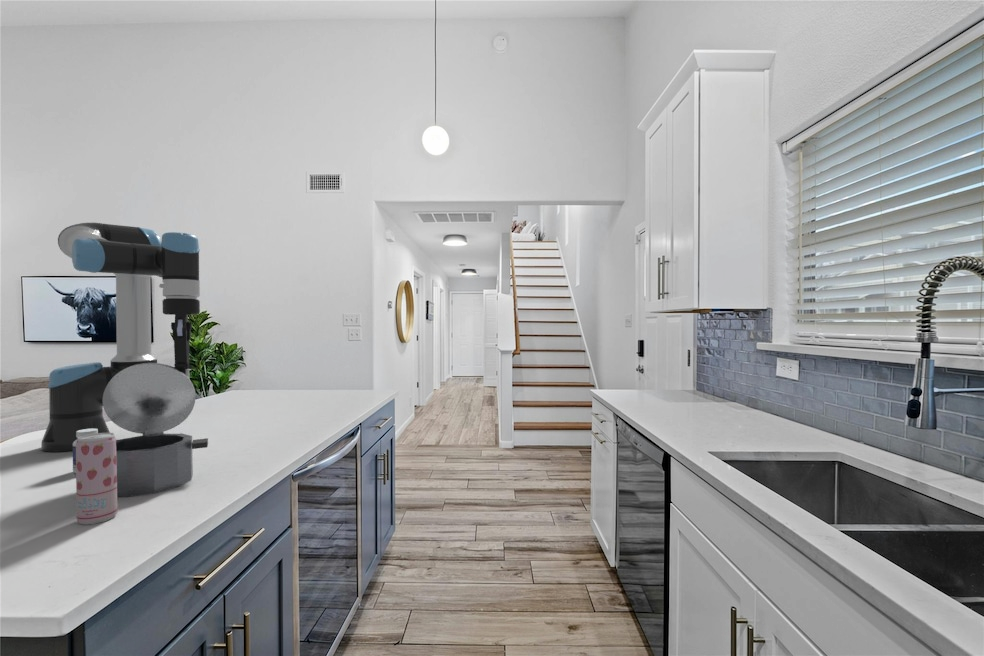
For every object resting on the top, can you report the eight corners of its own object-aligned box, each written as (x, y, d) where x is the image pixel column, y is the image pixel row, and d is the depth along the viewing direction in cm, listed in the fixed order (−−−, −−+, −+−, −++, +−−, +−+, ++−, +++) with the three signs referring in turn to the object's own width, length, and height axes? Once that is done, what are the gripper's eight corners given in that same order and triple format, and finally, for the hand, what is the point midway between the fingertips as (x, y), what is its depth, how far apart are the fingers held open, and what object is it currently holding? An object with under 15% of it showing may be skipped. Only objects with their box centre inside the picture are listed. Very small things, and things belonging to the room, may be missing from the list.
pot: (90, 480, 108) (90, 440, 108) (209, 465, 119) (209, 429, 119) (68, 505, 93) (67, 459, 93) (206, 485, 104) (205, 444, 104)
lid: (106, 440, 110) (108, 434, 112) (196, 431, 118) (197, 426, 120) (99, 366, 105) (101, 361, 107) (194, 362, 113) (194, 358, 115)
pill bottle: (85, 474, 112) (84, 433, 112) (66, 473, 113) (66, 432, 113) (108, 468, 118) (107, 428, 117) (90, 466, 119) (89, 427, 118)
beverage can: (71, 527, 83) (69, 441, 83) (83, 515, 89) (82, 434, 88) (111, 521, 86) (110, 437, 85) (121, 510, 91) (120, 431, 91)
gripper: (165, 299, 120) (167, 393, 120) (158, 296, 108) (160, 401, 109) (200, 299, 123) (202, 391, 124) (198, 297, 112) (199, 398, 112)
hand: (182, 396), depth 116 cm, fingers closed
